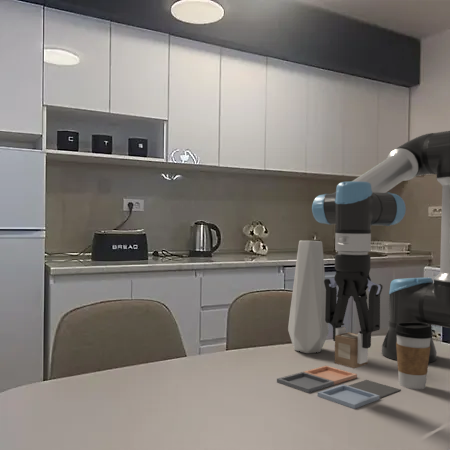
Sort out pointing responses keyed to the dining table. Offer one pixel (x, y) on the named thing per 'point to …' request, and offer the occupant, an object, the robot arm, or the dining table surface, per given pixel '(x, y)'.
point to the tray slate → (348, 396)
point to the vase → (308, 299)
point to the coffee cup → (413, 353)
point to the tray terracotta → (332, 374)
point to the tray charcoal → (305, 382)
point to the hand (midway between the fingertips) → (351, 359)
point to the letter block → (347, 350)
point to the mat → (375, 388)
